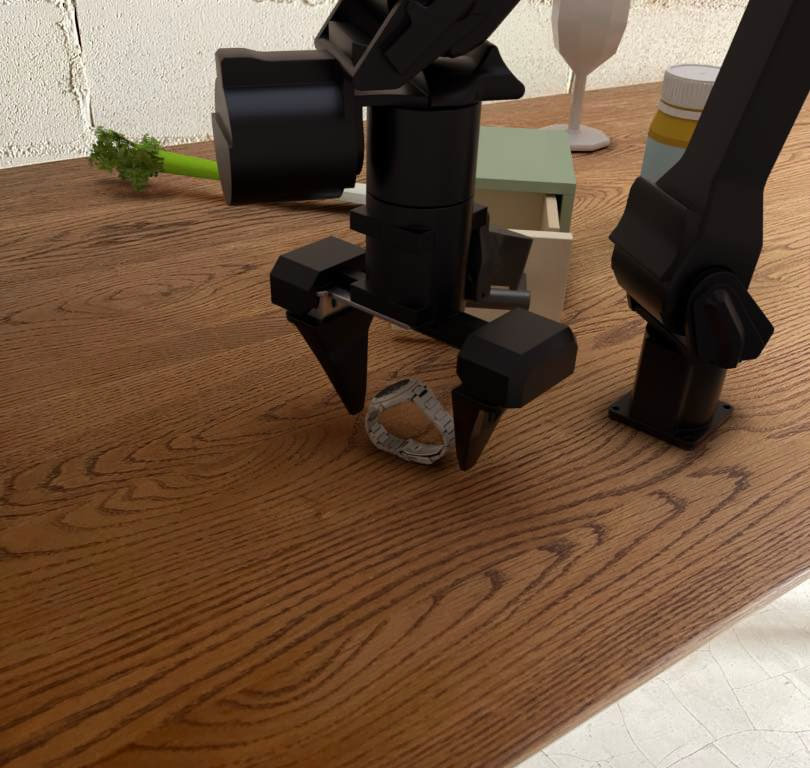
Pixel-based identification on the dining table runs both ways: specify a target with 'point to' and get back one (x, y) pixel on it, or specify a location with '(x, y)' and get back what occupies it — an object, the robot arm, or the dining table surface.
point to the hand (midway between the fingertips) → (409, 439)
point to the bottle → (676, 116)
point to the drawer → (544, 262)
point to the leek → (165, 163)
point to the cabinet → (528, 165)
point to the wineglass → (586, 55)
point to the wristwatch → (431, 409)
